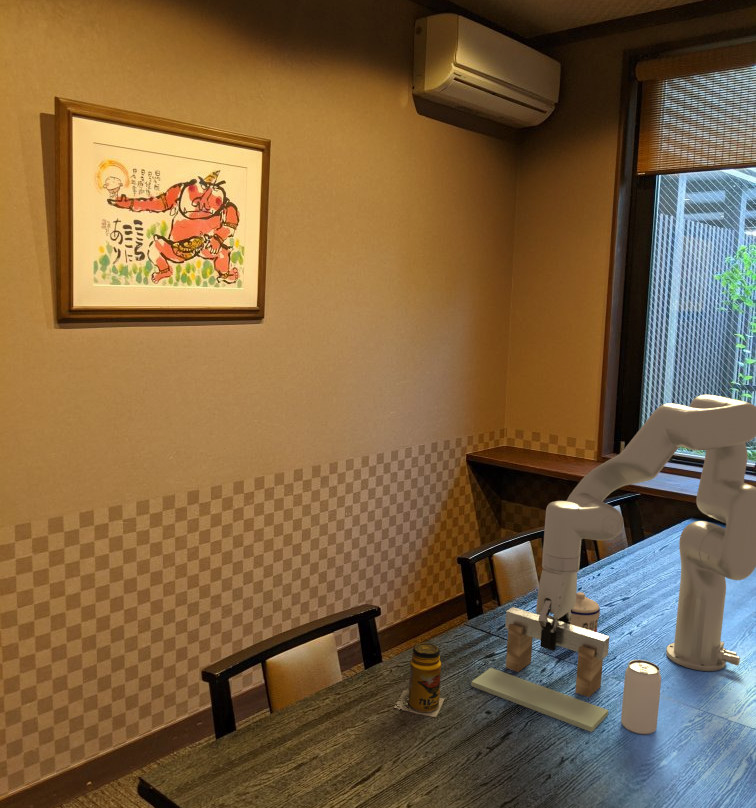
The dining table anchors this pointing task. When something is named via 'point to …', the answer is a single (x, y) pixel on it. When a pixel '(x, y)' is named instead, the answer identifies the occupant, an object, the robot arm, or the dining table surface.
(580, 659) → the post
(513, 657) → the post
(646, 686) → the can
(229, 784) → the dining table surface
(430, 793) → the dining table surface
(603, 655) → the rail
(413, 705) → the condiment
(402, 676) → the dining table surface
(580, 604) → the teacup with lid
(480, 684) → the mat
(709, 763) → the dining table surface
